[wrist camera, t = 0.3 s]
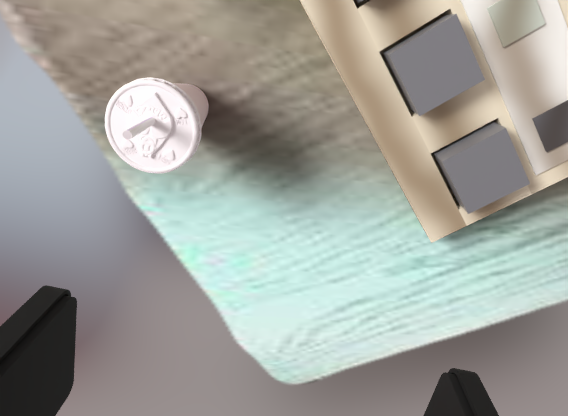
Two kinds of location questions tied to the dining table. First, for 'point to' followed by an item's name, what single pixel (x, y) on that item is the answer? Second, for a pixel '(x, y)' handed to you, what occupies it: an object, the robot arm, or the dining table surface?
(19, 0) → the dining table surface
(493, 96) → the button board
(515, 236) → the dining table surface
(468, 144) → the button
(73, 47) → the dining table surface
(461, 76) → the button middle
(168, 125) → the smoothie
